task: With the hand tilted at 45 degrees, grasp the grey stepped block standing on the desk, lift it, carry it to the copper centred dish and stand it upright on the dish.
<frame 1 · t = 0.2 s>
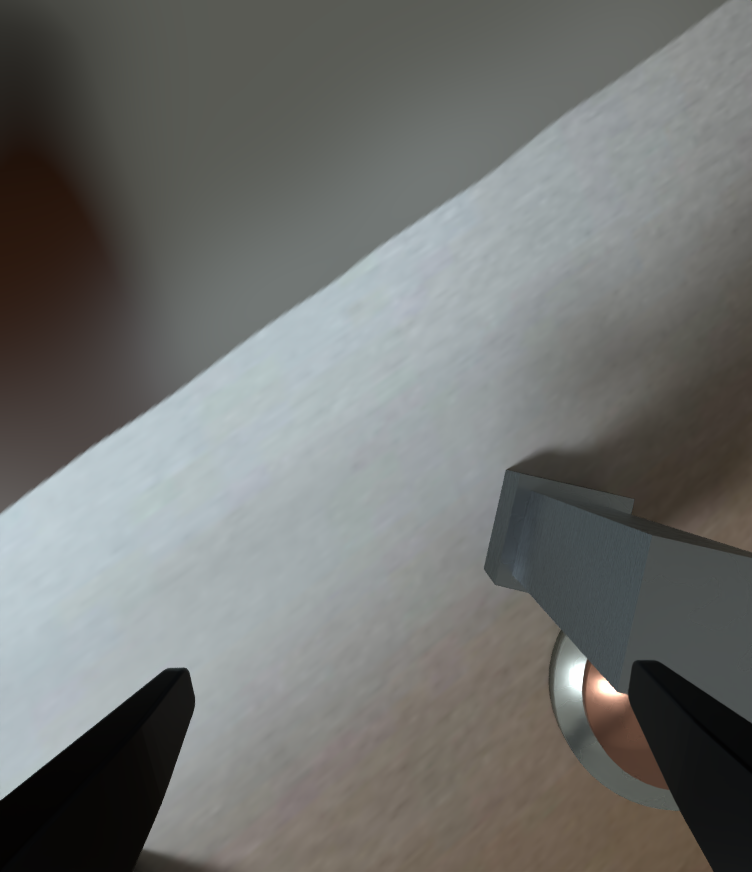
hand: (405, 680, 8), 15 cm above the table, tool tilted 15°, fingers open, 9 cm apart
grey stepped block: (545, 530, 23), on the table
copper centred dish: (663, 683, 22), on the table
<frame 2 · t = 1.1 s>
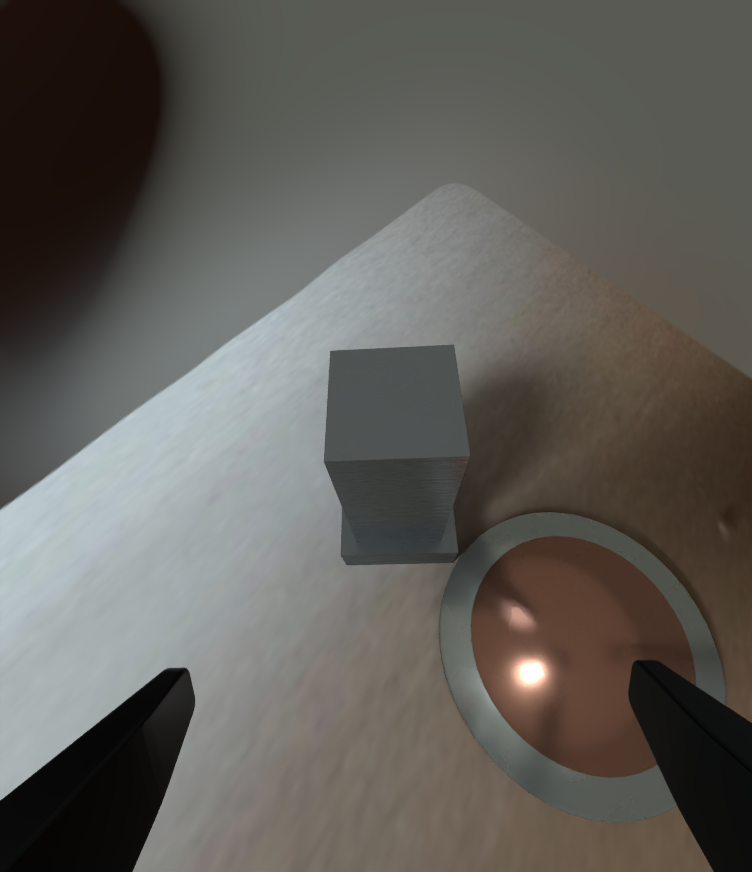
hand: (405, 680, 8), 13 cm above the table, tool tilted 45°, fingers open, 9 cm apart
grey stepped block: (397, 512, 23), on the table
copper centred dish: (568, 641, 20), on the table
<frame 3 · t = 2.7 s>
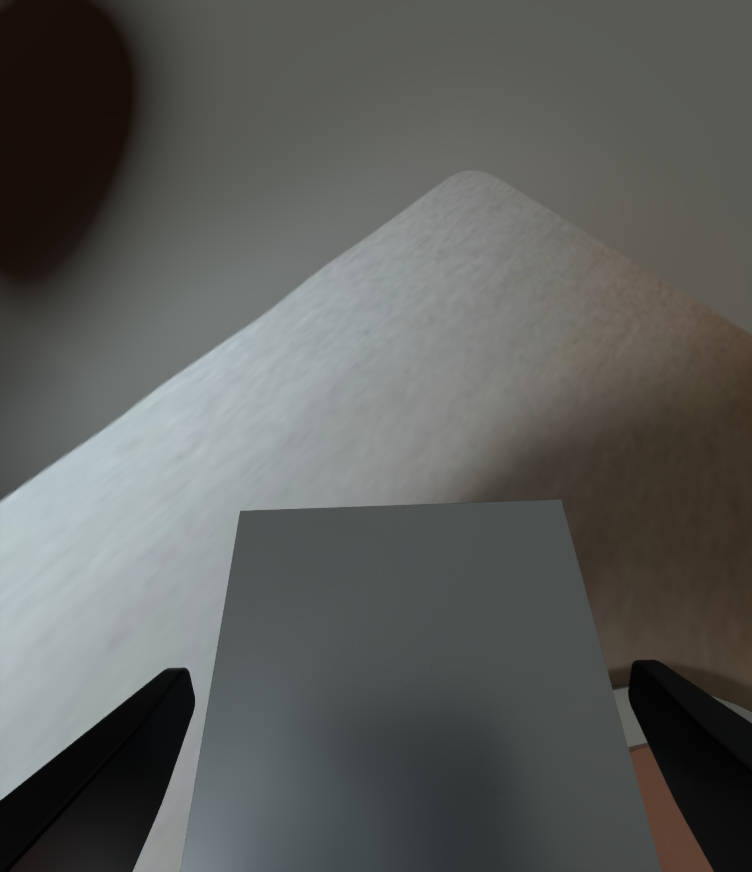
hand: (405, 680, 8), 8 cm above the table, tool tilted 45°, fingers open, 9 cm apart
grey stepped block: (403, 672, 15), on the table
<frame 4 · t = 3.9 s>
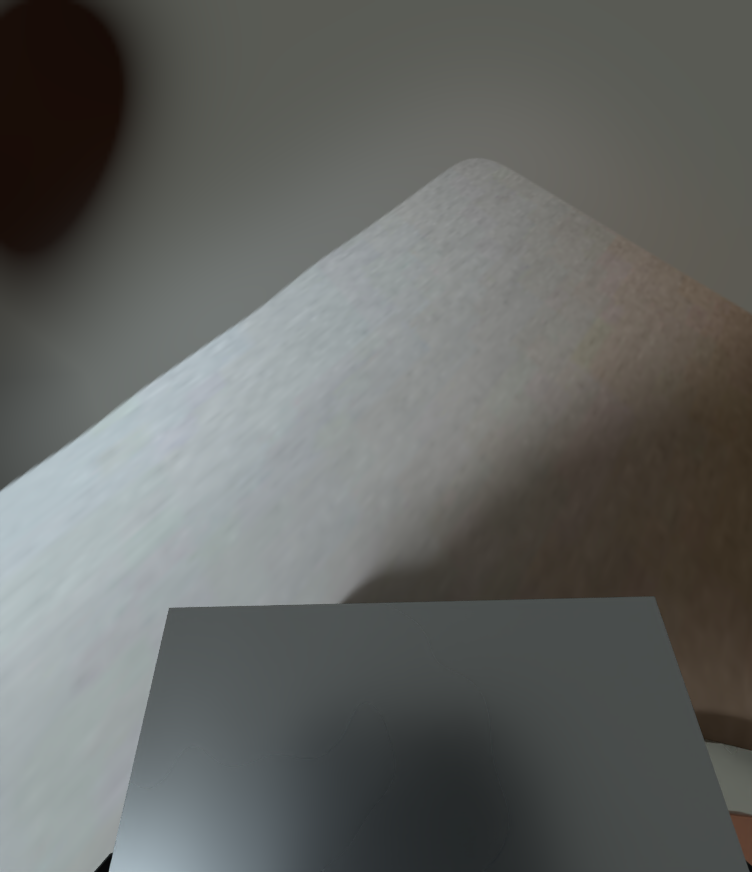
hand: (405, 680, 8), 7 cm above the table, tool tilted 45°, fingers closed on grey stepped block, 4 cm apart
grey stepped block: (406, 718, 13), on the table, touching gripper
when the fingers open (9 cm above the table, at t = 7.0 s): grey stepped block stays where it is, resting on copper centred dish.
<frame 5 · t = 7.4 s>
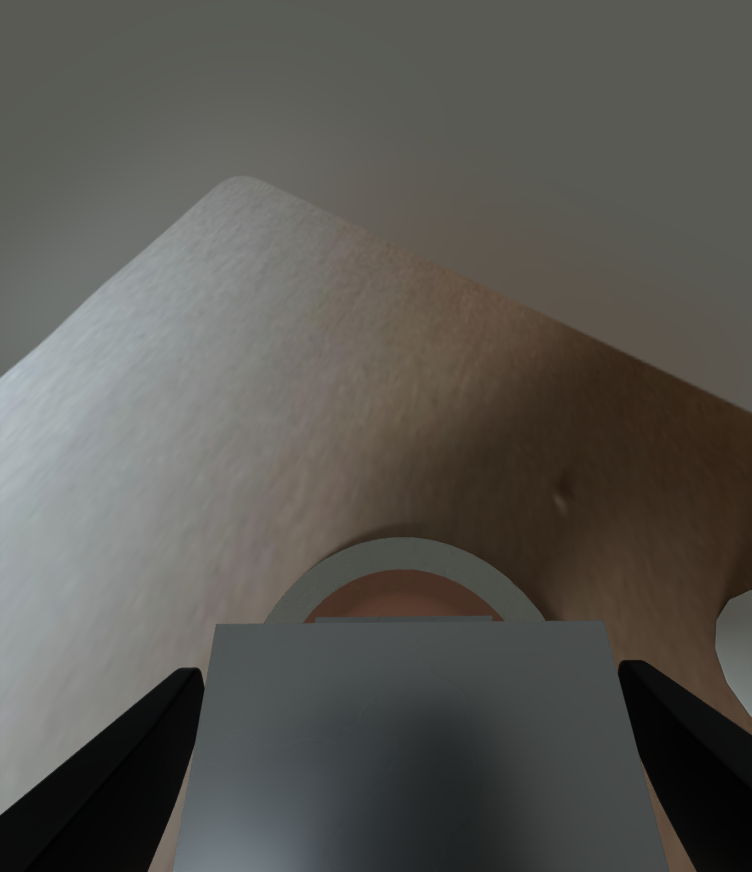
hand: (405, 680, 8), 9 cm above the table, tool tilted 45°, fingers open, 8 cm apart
grey stepped block: (405, 714, 14), point 1 cm above the table, touching copper centred dish
copper centred dish: (405, 709, 15), on the table
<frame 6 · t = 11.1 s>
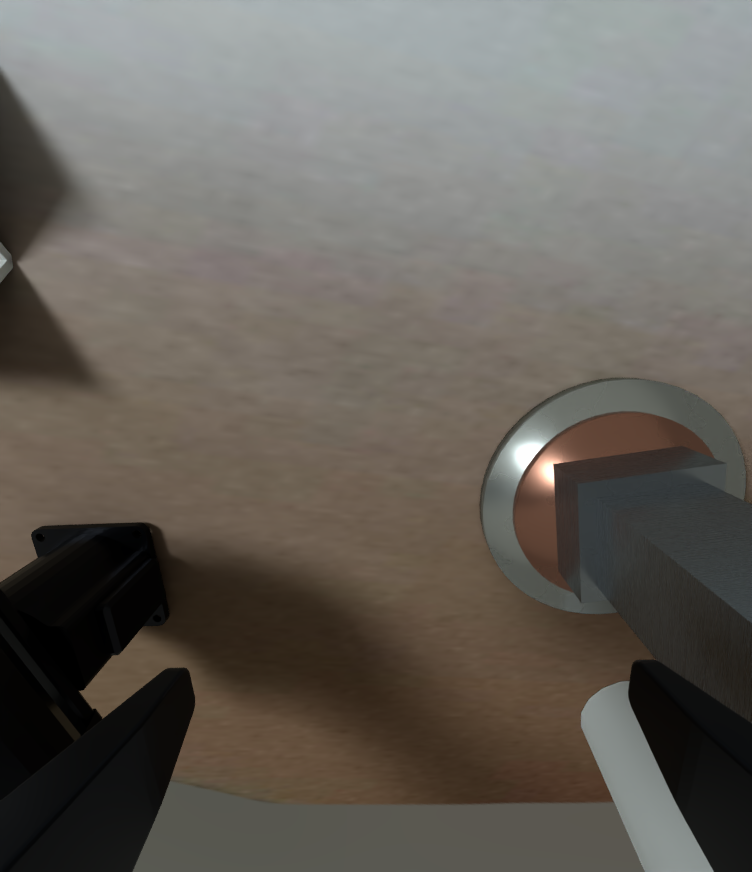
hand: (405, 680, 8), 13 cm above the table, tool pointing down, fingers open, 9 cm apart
white cup: (625, 713, 25), on the table
grey stepped block: (617, 511, 19), point 1 cm above the table, touching copper centred dish
copper centred dish: (603, 500, 21), on the table
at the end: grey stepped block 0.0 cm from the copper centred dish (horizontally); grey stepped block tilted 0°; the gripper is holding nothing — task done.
